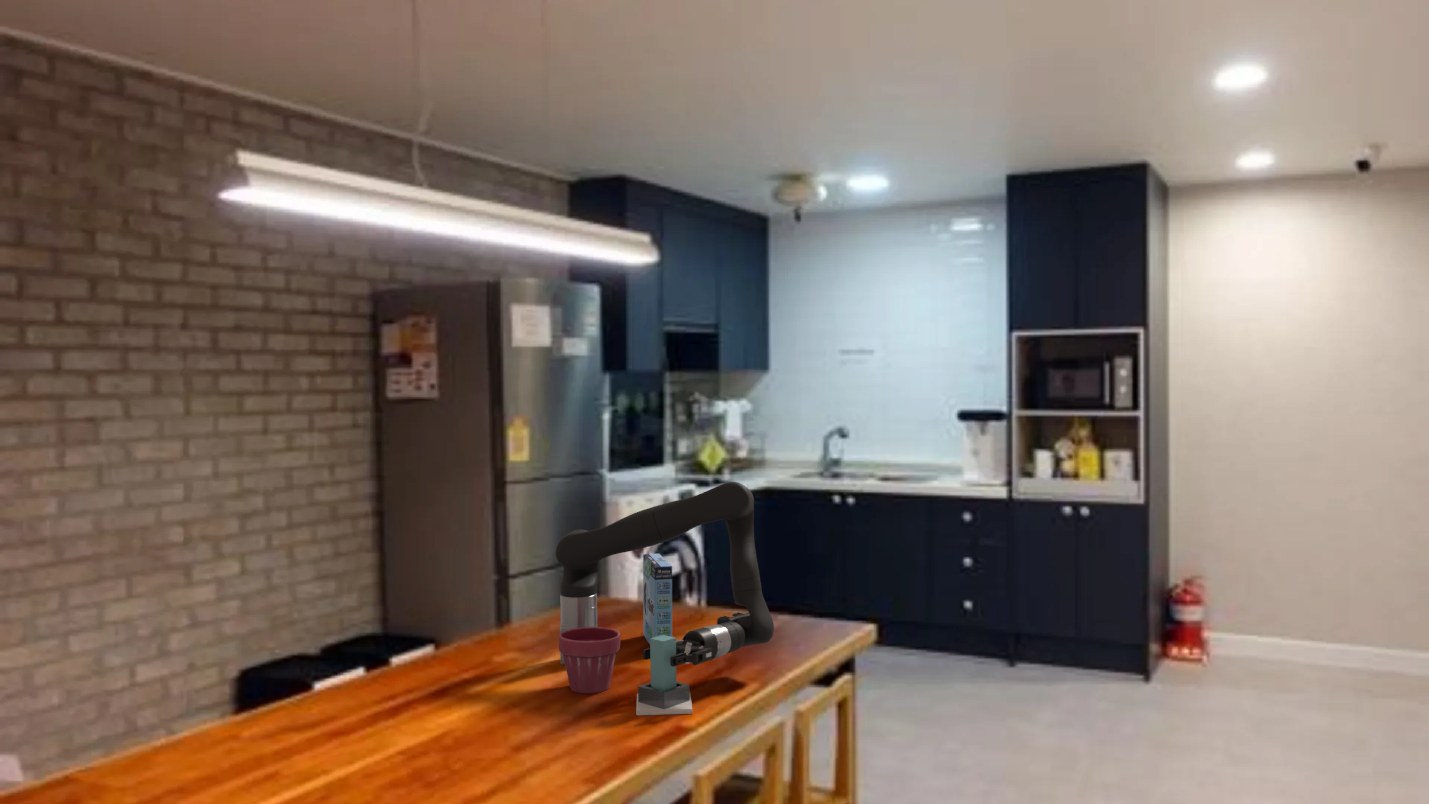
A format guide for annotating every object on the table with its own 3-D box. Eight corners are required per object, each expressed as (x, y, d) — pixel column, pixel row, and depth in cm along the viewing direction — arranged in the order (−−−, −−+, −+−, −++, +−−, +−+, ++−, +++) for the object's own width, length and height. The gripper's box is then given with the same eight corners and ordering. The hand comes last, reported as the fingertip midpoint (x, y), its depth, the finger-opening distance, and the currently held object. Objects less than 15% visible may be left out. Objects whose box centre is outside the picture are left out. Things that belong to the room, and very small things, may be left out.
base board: (636, 715, 229) (636, 710, 229) (637, 698, 241) (637, 693, 241) (692, 713, 230) (692, 709, 230) (690, 696, 242) (690, 692, 242)
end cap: (735, 645, 286) (734, 620, 286) (716, 640, 292) (715, 616, 291) (760, 638, 294) (759, 613, 293) (741, 633, 299) (741, 609, 298)
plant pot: (631, 683, 253) (631, 629, 252) (601, 700, 240) (600, 643, 240) (580, 676, 259) (579, 623, 258) (547, 692, 246) (546, 637, 246)
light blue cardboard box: (643, 635, 297) (642, 554, 296) (661, 634, 298) (660, 553, 298) (654, 654, 278) (653, 566, 278) (673, 652, 279) (672, 565, 279)
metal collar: (664, 709, 230) (664, 693, 230) (638, 702, 235) (638, 686, 235) (689, 700, 236) (689, 684, 236) (663, 693, 241) (663, 678, 241)
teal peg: (664, 705, 233) (663, 641, 232) (651, 701, 235) (650, 638, 235) (676, 700, 236) (675, 637, 235) (663, 697, 238) (662, 634, 238)
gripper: (684, 622, 250) (634, 636, 238) (730, 632, 241) (680, 646, 229) (684, 654, 251) (634, 669, 239) (730, 665, 241) (681, 681, 229)
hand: (657, 658), depth 234 cm, fingers open, 8 cm apart
